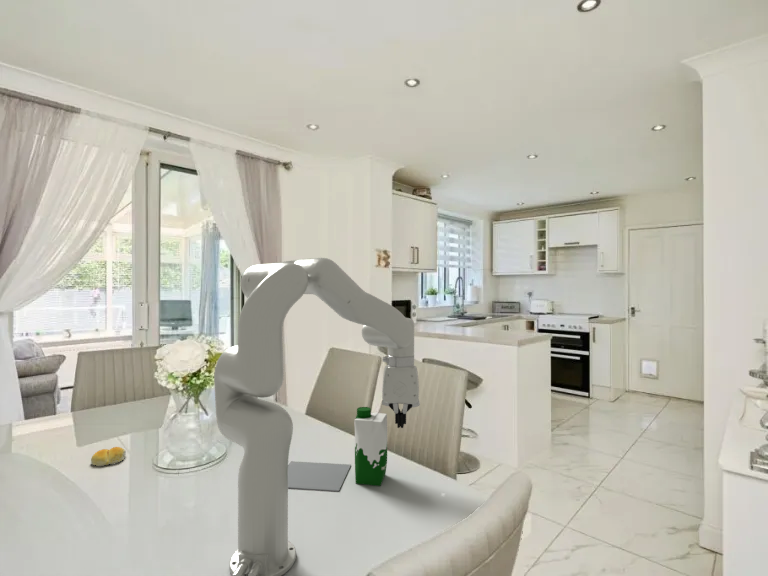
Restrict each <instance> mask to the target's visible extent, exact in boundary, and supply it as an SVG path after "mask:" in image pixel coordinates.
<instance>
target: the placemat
mask: <svg viewBox="0 0 768 576" xmlns="http://www.w3.org/2000/svg"><path fill="white" fill-rule="evenodd" d="M351 466H352V465H351V464H350V463H349V464H346V463H330V462H329V463H328V462H327V463H326V462H324V463H323V462H311V461H309V462H308V461H293V460H292V461H290V463H289V462H288V489H291V490H293V489H294V490H304V491H305V490H306V491H307V490H308V491H310V490H311V491H322V492H323V491H324V492H340V490H341V489H342V486H343V484H344V481H345V479H346V477H347V474H348V473H349V470H350V468H351Z"/></svg>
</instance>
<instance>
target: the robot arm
mask: <svg viewBox="0 0 768 576" xmlns="http://www.w3.org/2000/svg"><path fill="white" fill-rule="evenodd" d="M240 289H241V291H242V293H243V295H244V296H245V297H246V298H247V299H246V300H245V302H244V304H243V307H242V308H241V311H240V314H239V317H238V322H237V324H238V325H237V345H233V346H230V347H228V348H226V349H225V350H224V351H223V352H222V353H221V355H220V356H219V358H218V359H217V362H216V365H215V368H214V377H213V378H214V380H213V381H214V402H215V406H214V407H215V419H216V425H217V428H218V431H219V432H220V434H221V435H222V436H223V437H224V438H225V439H227V440H229V441H231V442H232V443H235V444H236V445H238V446H240V447H242V448H243V457H242V459H241V461H240V462H241V463H240V465H239V468H238V475H237V497H238V498H237V513H238V514H237V550H235V552H234V553H233V554H232V555H231V557H230V559H229V572H230V574H231V576H283V575H285V574H286V573H287V572H288V571H289V570H291V568H292V567H293V566H294V565H295V561H296V558H297V557H296V555H297V554H296V547H295V545H294V544H293V543H292V541H290V540H289V488H288V465H289V459H290V458H289V455H290V449H291V448H290V447H291V444H292V439H293V432H294V424H293V423H294V422H293V419H292V417H291V415H290V413H289V412H288V411H287V410H286V409H285V408H284V407H283V406H281V405H279V404H277V403H274V402H270V401H267V400H265V399H261V398H270V397H272V396H274V395H276V394H277V393H278V392H279V391H280V390H281V388H282V386H283V383H284V376H285V375H284V371H285V369H284V368H285V366H284V345H283V344H284V343H283V341H284V340H283V335H284V334H283V332H284V331H283V330H284V323H285V319H286V316H287V314H288V313H289V311H290V310H291V308H292V307H293V306H294V305H295V303H297V302H298V301H299V300H300V299H302V297H303V296H304V295H314V296H317V298H318V299H320V300H321V301H322V302H323V303H324V304H325V305H327V306H328V307H329V308H330V309H332V310H333V312H335V313H336V314H337V315H338V316H339V317H341V318H342V319H345V320H347V321H350V322H352V323H355V324H358V325H362V329H361V337H362V339H363V340H364V342H366V343H367V344H368V345H371V346H375V347H382V348H384V347H385V348H387V355H386V356H383V357H382V362H383V363H386V365H385V366H384V369H383V376H382V387H381V389H382V390H381V391H382V392H381V393H382V396H381V397H382V401H381V405H382V406H385V407H389V408H390V409H391V410H392V411H393V413H394V419H395V420H394V423H395V424H396V425H397V428H398V429H399V428H400V429H404V426H405V425H406V424H407V412H409V411H410V410H411V409H412V408H416V407H420V405H421V402H420V398H419V397H420V396H419V395H420V388H419V387H420V385H419V375H418V369H417V368H418V367H417V366H416V365H415V322H414V320H413V319H412V318H409V317H406V316H404V314H403V313H402V312H401V311H400V310H398V308H396V307H394V306H393V305H391V304H390V303H388V302H387V301H384V300H382V299H380V298H378V297H376V296H375V295H373V294H372V293H371V294H370V293H368V292H367V291H365V290H363V288H361V286H359V285H358V283H357V282H356V281H354V279H353V278H351V276H349V274H347V272H345V271H344V270H343V269H342V268H341V266H339V265H338V263H336V262H335V261H333V260H332V259H330V258H327V257H311V258H300V259H293V260H286V261H280V262H269V263H260V264H253V265H251V266H250V267H248V268H247V269H246V270H245V271H244V272H243V274H242V276H241V279H240ZM399 404H401V405H402V404H403V405H402V408H401V409H400V406H399Z"/></svg>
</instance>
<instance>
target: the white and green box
mask: <svg viewBox="0 0 768 576" xmlns="http://www.w3.org/2000/svg"><path fill="white" fill-rule="evenodd" d="M387 419H388V415H387V413H381V412H377V411H376V412H372V409H371V407H370V406H369V407H368V406H359V407H357V408H356V415H355V418H354V420H353V423H354V475H355V476H354V477H355V484H356V485H367V486H373V487H374V486H376V487H381V486H382V483H383V481H384V479H385V476H386V472H387V466H388V465H387V464H388V420H387Z"/></svg>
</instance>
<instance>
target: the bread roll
mask: <svg viewBox="0 0 768 576" xmlns="http://www.w3.org/2000/svg"><path fill="white" fill-rule="evenodd" d="M126 453H127V451H126V450H125V449H124V448H122V447H120V446H114V447H111V448H109V449H107V448H103V449H100V450H98V451H96V452H95V453H94V454H93V455H92V456H91V458H90V463H91V465H92V466H95V465H96V466H95V467H104V465H106V466H108V465H109V464H112V465H115V464H114V463H116V464H118V462H119V463H121V462H123V461H124V460H125V459H126ZM124 458H125V459H124ZM122 460H123V461H122ZM120 461H121V462H120Z"/></svg>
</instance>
